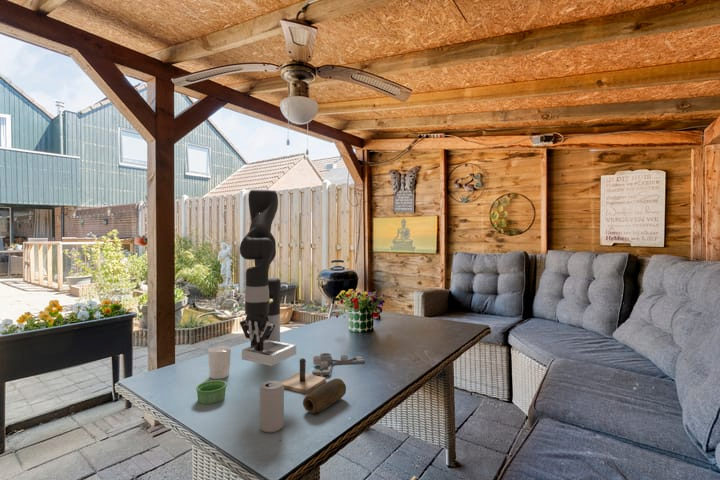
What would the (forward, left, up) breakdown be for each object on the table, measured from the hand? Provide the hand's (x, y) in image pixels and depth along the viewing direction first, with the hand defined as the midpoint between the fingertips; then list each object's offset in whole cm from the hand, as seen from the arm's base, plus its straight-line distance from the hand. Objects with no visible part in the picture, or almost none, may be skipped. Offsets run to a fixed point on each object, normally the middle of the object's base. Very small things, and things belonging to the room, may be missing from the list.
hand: (257, 352), depth 120 cm
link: (+5, 0, -1) cm, 5 cm away
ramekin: (-12, -8, -15) cm, 21 cm away
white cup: (-25, +7, -15) cm, 30 cm away
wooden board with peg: (+7, +15, -14) cm, 22 cm away
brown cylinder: (+23, +5, -15) cm, 28 cm away
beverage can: (+17, -13, -15) cm, 26 cm away
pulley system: (+7, +36, -15) cm, 40 cm away
